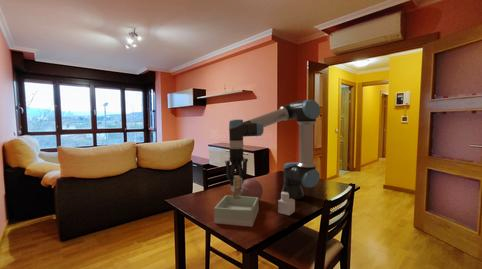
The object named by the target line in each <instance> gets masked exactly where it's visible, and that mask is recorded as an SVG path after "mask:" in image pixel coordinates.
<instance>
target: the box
mask: <svg viewBox="0 0 482 269" xmlns="http://www.w3.org/2000/svg"><path fill="white" fill-rule="evenodd" d="M259 203H260V202H259V201H258V197H245V196H241V198H240V199H234V198H233V195H227V194H226V195H224V196H223V197H222V198H221V200H220V201H219V202H218V203H217V204H216V205H215V207H213V216H214V217H213V218H214V224H219V225H228V226H229V225H231V226H240V227H251V228H252V227H253V226H254V224H255V220H256V219H257V215H258V213H259V211H260V210H259V209H260V208H259Z"/></svg>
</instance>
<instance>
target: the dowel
mask: <svg viewBox="0 0 482 269" xmlns="http://www.w3.org/2000/svg"><path fill="white" fill-rule="evenodd" d="M234 180H235V192H233V191H232V193H233V194H232V196H233V198H234V199H240V198H241V184H240V175H238V174H237V175H235V174H234Z"/></svg>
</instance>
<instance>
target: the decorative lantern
mask: <svg viewBox="0 0 482 269" xmlns="http://www.w3.org/2000/svg"><path fill="white" fill-rule="evenodd" d="M263 189H264V188H263V185H262V184H261V182H260V181H259V180H257V179H255V178H246V179H243V184H242V190H241V196H245V197H258V202H259V201H260V200H261V198H263V197H262V196H263V193H264V192H263V191H264V190H263Z"/></svg>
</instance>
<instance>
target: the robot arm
mask: <svg viewBox="0 0 482 269" xmlns="http://www.w3.org/2000/svg"><path fill="white" fill-rule="evenodd" d="M320 114H321V108H320V105H319V103H318V102H317V101H316V100H314V99H305V100H303V99H302V100H295V101H293V102H290V103H288V104H286V105H283V106H280V107H279V109H275V110H274V111H270V112H268V113H265V114H262V115H260V116H257V117H254V118H251V119H248V120H246V121H244V119H230V120H229V123H228V132H229V133H228V134H229V136H228V138H229V139H228V140H229V141H228V142H229V158H228V159H227V160H224V163H225V170H226V173H225V174H226V178H227V179H228V180H229V185H230V186H231V187H230V189H231V192H232V193H233V192H235V180H234V176H235V174H236V173H235V172H236V167H237V169H238V174H239V176H240V184H241V190H242V184H243V181H244V179H245V178H246V177H247V174H248V172H247V170H248V169H247V168H248V161H249V159H248V158H246V157H244V137H245V138H246V137H260V136H263V134H264V131H265V130H264V128H267V127H269V126H271V125H274V124H276V123H279V122H281V121H288V120H289V121H290V120H296V123H297V124H298V161H296V162H294V161H293V162H292V161H291V162H286V163H284V164H283V186H282V188H281V192H282V191H290V192H291V193H292V199H294V200H299V199H303V198H304V197H305V195H304V194H305V193H304V190H303V187H306V188H313V187H315V186H316V185H317V184H318V183H319V180H320V177H321V176H320V172H319V171H318V170H317V169H316V168H317V166H316V164H315V162H314V124H315V123H316V122H317V119H318V117H319V116H320ZM302 186H303V187H302Z"/></svg>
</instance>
